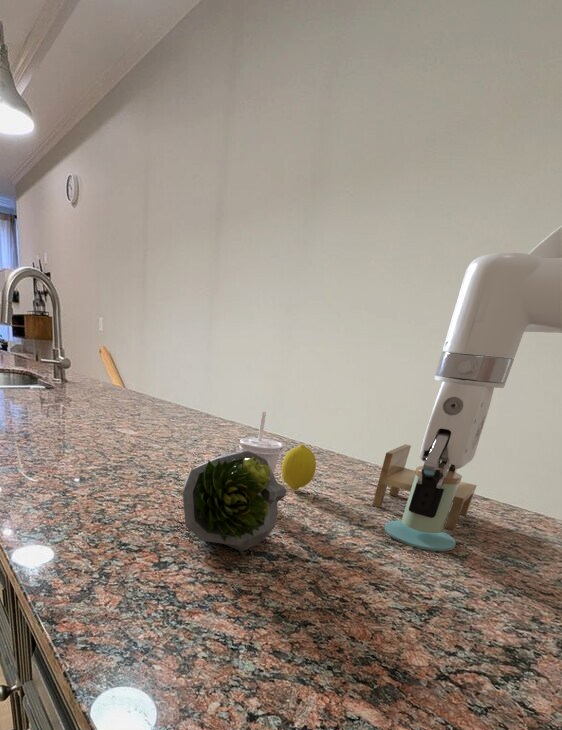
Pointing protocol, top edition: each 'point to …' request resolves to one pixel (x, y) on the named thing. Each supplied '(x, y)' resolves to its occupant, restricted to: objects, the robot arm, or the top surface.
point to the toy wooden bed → (404, 478)
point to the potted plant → (232, 500)
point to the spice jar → (443, 510)
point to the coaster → (419, 537)
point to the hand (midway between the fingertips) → (427, 507)
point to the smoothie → (263, 446)
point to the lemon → (298, 467)
